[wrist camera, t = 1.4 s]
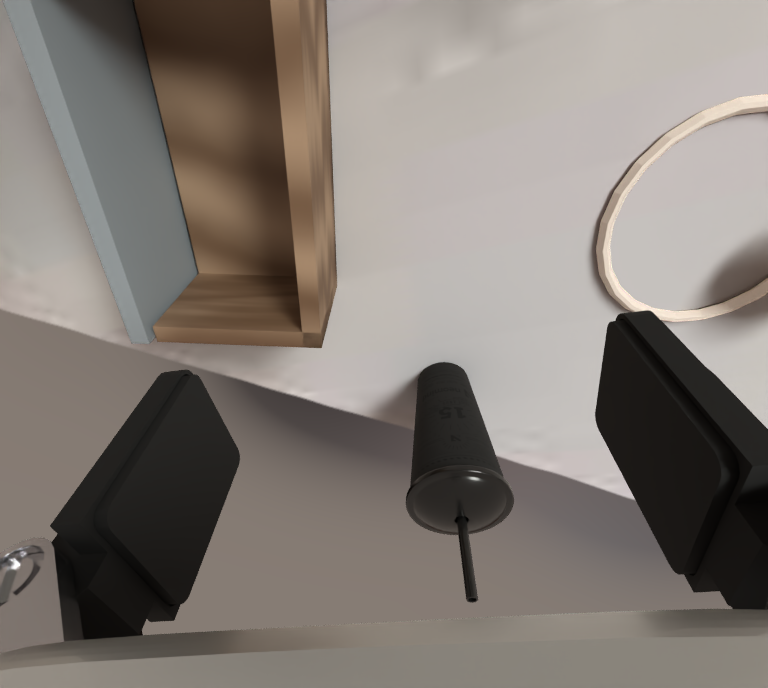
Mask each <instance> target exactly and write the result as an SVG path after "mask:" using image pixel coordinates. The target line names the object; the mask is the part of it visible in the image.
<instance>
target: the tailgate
mask: <svg viewBox="0 0 768 688" xmlns="http://www.w3.org/2000/svg"><path fill="white" fill-rule="evenodd" d="M3 3H4V6H5V8H6V11H7V14H8V16H9V19H10V22H11V24H12V27H13V30H14V32H15V35H16V38H17V40H18V43H19V46H20V48H21V51H22V54H23V56H24V59H25V62H26V64H27V67H28V69H29V72H30V75H31V77H32V80H33V83H34V85H35V88H36V91H37V93H38V96H39V99H40V101H41V104H42V107H43V109H44V112H45V115H46V117H47V120H48V123H49V125H50V128H51V131H52V133H53V136H54V139H55V141H56V144H57V147H58V149H59V152H60V155H61V157H62V160H63V162H64V165H65V168H66V170H67V173H68V176H69V178H70V181H71V184H72V186H73V189H74V192H75V194H76V197H77V200H78V202H79V205H80V208H81V210H82V213H83V216H84V218H85V221H86V224H87V226H88V229H89V232H90V234H91V237H92V240H93V242H94V245H95V248H96V250H97V253H98V255H99V258H100V261H101V263H102V266H103V269H104V271H105V274H106V277H107V279H108V282H109V285H110V287H111V290H112V293H113V295H114V298H115V301H116V303H117V306H118V309H119V311H120V314H121V317H122V319H123V322H124V325H125V327H126V330H127V333H128V335H129V338H130V341H131V343H136V344H150V343H151V342H152V340H153V339H154V338H155V337H156V335H155V332H154V329H153V326H154V324H155V323H156V322H157V321H158V320H159V319H160V317H161V316H162V315H163V314H164V313H165V312H166V310H167V309H168V308H169V307H170V306H171V305H172V304H173V302H174V301H175V300H176V299H177V298H178V297H179V295H180V294H181V293H182V292H183V291H184V290H185V288H186V287H187V286H188V285H189V284H190V283H191V281H192V280H193V279H194V278H195V277H196V276H197V275H198V270H197V266H196V262H195V258H194V253H193V249H192V245H191V241H190V237H189V233H188V228H187V224H186V220H185V216H184V212H183V208H182V203H181V199H180V195H179V191H178V187H177V183H176V178H175V174H174V170H173V166H172V162H171V158H170V153H169V149H168V145H167V141H166V137H165V133H164V128H163V124H162V120H161V116H160V112H159V108H158V103H157V99H156V95H155V91H154V87H153V83H152V78H151V74H150V70H149V66H148V62H147V58H146V54H145V49H144V45H143V41H142V37H141V33H140V29H139V24H138V20H137V16H136V12H135V8H134V4H133V0H3Z"/></svg>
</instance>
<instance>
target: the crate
mask: <svg viewBox="0 0 768 688" xmlns="http://www.w3.org/2000/svg"><path fill="white" fill-rule="evenodd" d="M134 4H135V8H136V12H137V16H138V20H139V25H140V29H141V33H142V37H143V41H144V46H145V50H146V54H147V58H148V62H149V66H150V71H151V75H152V79H153V83H154V87H155V92H156V96H157V100H158V104H159V108H160V112H161V117H162V121H163V125H164V129H165V133H166V138H167V142H168V146H169V150H170V154H171V158H172V163H173V167H174V171H175V175H176V179H177V184H178V188H179V192H180V196H181V200H182V204H183V209H184V213H185V217H186V221H187V225H188V230H189V234H190V238H191V242H192V246H193V250H194V255H195V259H196V263H197V267H198V271H199V273H198V275H197V276H196V277H195V278H194V279H193V280H192V281H191V283H190V284H189V285H188V286H187V287H186V288H185V290H184V291H183V292H182V293H181V294H180V295H179V297H178V298H177V299H176V300H175V301H174V302H173V304H172V305H171V306H170V307H169V308H168V309H167V310H166V312H165V313H164V314H163V315H162V316H161V317H160V319H159V320H158V321H157V322H156V323H155V324H154V326H153V329H154V332H155V335H156V338H157V341H158V342H179V343H204V344H230V345H256V346H282V347H307V348H322V344H323V340H324V336H325V332H326V328H327V324H328V320H329V316H330V312H331V308H332V304H333V300H334V296H335V292H336V288H337V270H336V244H335V217H334V190H333V164H332V137H331V111H330V84H329V57H328V31H327V4H326V0H134Z"/></svg>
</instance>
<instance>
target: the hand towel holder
mask: <svg viewBox="0 0 768 688" xmlns="http://www.w3.org/2000/svg"><path fill="white" fill-rule="evenodd" d="M765 111H768V94H763V95H755V96H747V97H739V98H736V99H733V100H731V101H728V102H725V103H723V104H720V105H717V106H715V107H712V108H709V109H707V110H704V111H701V112H700V113H698V114H696V115H695V116H693V117H692V118H690V119H688V120H687V121H685V122H684V123H682V124H680V125H679V126H677V127H676V128H674V129H672V130H671V131H669V132H668V133H666V134H665V135H664V136H663V137H662V138H661V139H659V140H658V141H657V142H656V143H655V144H654V145H653V146H652V147H651V148H650V149H649V150H648V151H647V152H645V153H644V154H643V155H642V156H641V157H640V158H639V159H638V160H637V161H636V162H635V163H634V165H633V166H632V167H631V169H630V170H629V172H628V173H627V174H626V176H625V177H624V178H623V180H622V181H621V183H620V184H619V185H618V187H617V188H616V189H615V191H614V193H613V195H612V197H611V199H610V202H609V204H608V206H607V208H606V211H605V213H604V215H603V217H602V220H601V223H600V229H599V234H598V240H597V246H596V254H597V262H598V270H599V275H600V277H601V279H602V281H603V283H604V285H605V287H606V289H607V291H608V293H609V294H610V295H611V296H612V297H613V298H614V299H615V300H616V301H617V302H618V303H619V304H621V305H622V306H623V307H624V308H625V309H627V310H629V311H631V312H637V311H645V310H650V311H652V312H653V313H654V314H655V315H656V316H657V317H658V318H659V319H660V320H663V321H669V322H681V321H694V320H704V319H707V318H711V317H715V316H718V315H722V314H726V313H729V312H732V311H734V310H736V309H739V308H741V307H743V306H745V305H747V304H749V303H752V302H754V301H756V300H758V299H760V298H761V297H763V296H764V295H766V294H767V293H768V278H766V279H765V280H763V281H762V282H761V283H759V284H758V285H756V286H755V287H753V288H752V289H750V290H749V291H746V292H744V293H742V294H740V295H738V296H736V297H734V298H732V299H729V300H727V301H725V302H723V303H720V304H716V305H712V306H709V307H705V308H702V309H698V310H686V311H669V310H663V309H656V308H652V307H650V306H648V305H645V304H643V303H641V302H639V301H637V300H635V299H634V298H633V297H631V296H630V295H629V294H628V293H627V292H626V291H625V290H624V289H623V288H622V287H621V286H620V284H619V282H618V280H617V278H616V275H615V273H614V271H613V269H612V263H611V254H610V242H611V237H612V232H613V227H614V222H615V220H616V217H617V215H618V213H619V211H620V209H621V207H622V204H623V202H624V200H625V198H626V196H627V194H628V193H629V192H630V190H631V189H632V188H633V186H634V185H635V184H636V182H637V181H638V180H639V178H640V177H641V176H642V174H643V173H644V172H645V170H646V169H647V168H648V167H649V166H650V165H652V164H653V163H654V162H655V161H656V160H657V159H658V158H659V157H660V156H661V155H663V154H664V153H665V152H666V151H667V150H668V149H669V148H670V147H671V146H673V145H674V144H676V143H678V142H679V141H681V140H682V139H684V138H686V137H687V136H689V135H691V134H692V133H694V132H695V131H697V130H699V129H700V128H702V127H704V126H707V125H709V124H712V123H715V122H718V121H720V120H723V119H726V118H729V117H731V116H734V115H739V114H747V113H756V112H765Z"/></svg>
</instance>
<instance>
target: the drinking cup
mask: <svg viewBox="0 0 768 688" xmlns="http://www.w3.org/2000/svg"><path fill="white" fill-rule="evenodd" d="M513 504H514V495H513V491H512V488H511V486H510V485H509V483H508V482H507V481H506V480H505V479H504V477H503V474H502V471H501V469H500V466H499V463H498V460H497V457H496V455H495V452H494V449H493V446H492V444H491V441H490V438H489V435H488V432H487V430H486V427H485V424H484V421H483V419H482V416H481V413H480V410H479V407H478V405H477V402H476V399H475V396H474V394H473V391H472V388H471V385H470V382H469V380H468V377H467V374H466V373H465V371H464V370H463V369H462V368H461V367H459V366H458V365H455V364H452V363H446V362H443V363H436V364H433V365H431V366H429V367H427V368H426V369H425V370H424V371H423V372H422V373H421V374H420V376H419V379H418V390H417V404H416V417H415V431H414V445H413V459H412V472H411V485H410V488H409V490H408V492H407V496H406V508H407V511H408V513H409V515H410V517H411V518H412V519H413V520H414V521H415V522H416V523H417V524H419V525H420V526H422V527H424V528H425V529H428V530H430V531H433V532H437V533H442V534H448V535H459V542H460V551H461V558H462V568H463V575H464V584H465V592H466V599H467V601H468V602H476V601H477V600H478V596H477V589H476V583H475V576H474V569H473V562H472V554H471V547H470V541H469V534H473V533H477V532H481V531H484V530H487V529H490V528H492V527H494V526H496V525H497V524H499V523H500V522H502V521H503V520H504V519H505V518H506V517H507V516H508V515H509V513H510V512H511V510H512V507H513Z"/></svg>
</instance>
